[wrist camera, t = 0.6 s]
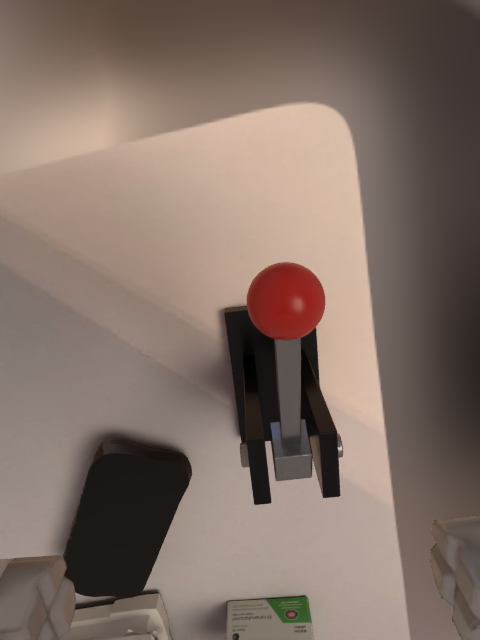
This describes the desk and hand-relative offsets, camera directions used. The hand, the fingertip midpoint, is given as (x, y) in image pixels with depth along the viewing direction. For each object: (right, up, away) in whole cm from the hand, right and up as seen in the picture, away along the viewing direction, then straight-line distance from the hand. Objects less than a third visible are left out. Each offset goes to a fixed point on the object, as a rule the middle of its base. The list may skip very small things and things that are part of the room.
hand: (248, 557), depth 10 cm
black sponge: (-11, -12, +31) cm, 35 cm away
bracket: (+3, +1, +27) cm, 27 cm away
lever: (+2, +3, +13) cm, 14 cm away
